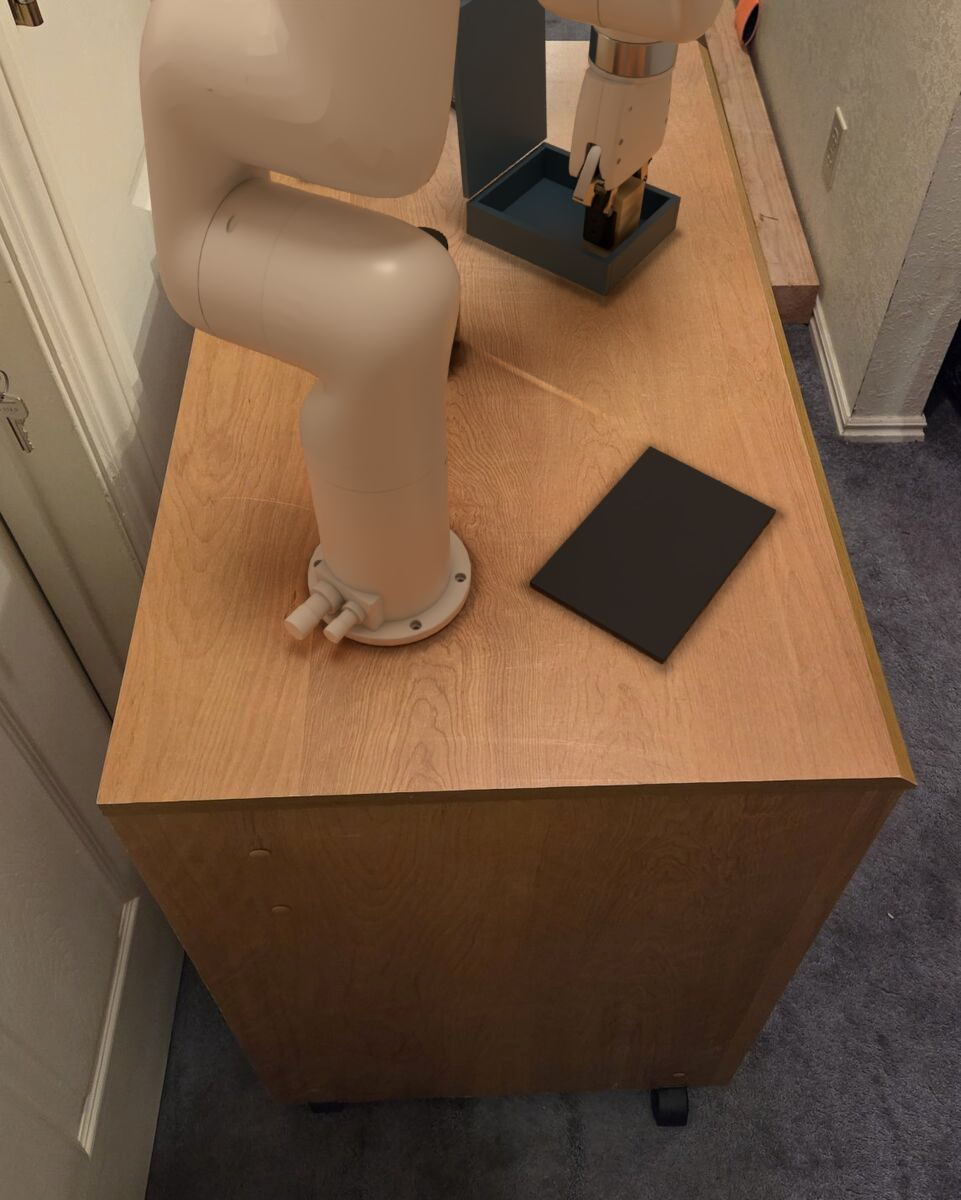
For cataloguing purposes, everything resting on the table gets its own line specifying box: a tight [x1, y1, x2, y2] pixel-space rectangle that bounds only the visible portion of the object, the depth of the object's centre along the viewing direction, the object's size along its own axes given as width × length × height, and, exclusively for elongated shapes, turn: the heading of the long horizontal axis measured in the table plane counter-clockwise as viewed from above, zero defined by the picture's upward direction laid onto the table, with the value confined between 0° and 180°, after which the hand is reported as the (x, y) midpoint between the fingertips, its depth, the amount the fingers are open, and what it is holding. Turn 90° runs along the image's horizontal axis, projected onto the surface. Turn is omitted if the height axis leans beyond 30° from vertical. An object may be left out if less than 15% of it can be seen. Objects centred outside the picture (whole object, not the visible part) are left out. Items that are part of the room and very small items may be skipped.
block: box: [582, 176, 645, 258], centre depth 102 cm, size 4×4×7 cm
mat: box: [529, 445, 777, 664], centre depth 83 cm, size 18×12×1 cm, turn 144°
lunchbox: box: [465, 141, 682, 297], centre depth 105 cm, size 17×14×4 cm
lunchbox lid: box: [453, 0, 548, 200], centre depth 99 cm, size 17×14×1 cm
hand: (610, 230), depth 103 cm, fingers closed on block, 4 cm apart
